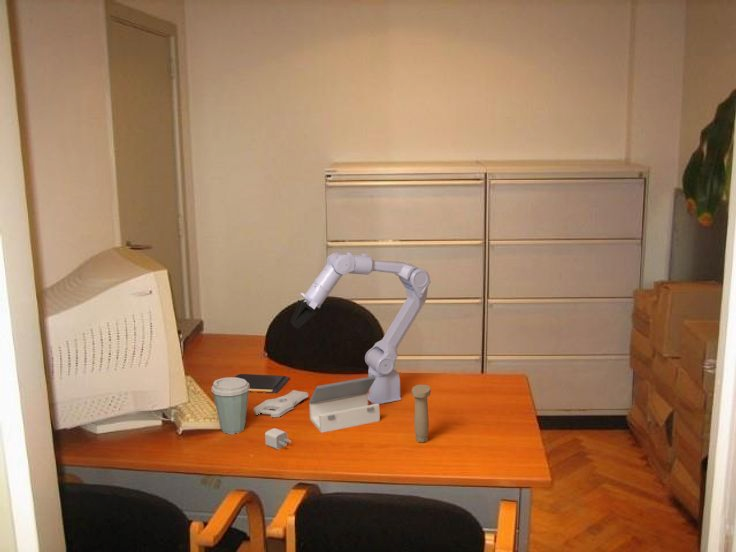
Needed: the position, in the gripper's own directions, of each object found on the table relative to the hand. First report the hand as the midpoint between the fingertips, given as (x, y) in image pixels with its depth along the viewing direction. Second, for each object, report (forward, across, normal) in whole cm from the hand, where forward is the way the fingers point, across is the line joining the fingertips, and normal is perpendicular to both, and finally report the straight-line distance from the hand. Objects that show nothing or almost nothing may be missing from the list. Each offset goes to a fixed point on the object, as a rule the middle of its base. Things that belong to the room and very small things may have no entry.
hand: (293, 325), depth 209 cm
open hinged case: (+14, +3, +28) cm, 32 cm away
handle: (+5, +21, +44) cm, 49 cm away
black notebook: (+25, -34, +6) cm, 43 cm away
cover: (+7, +4, +23) cm, 24 cm away
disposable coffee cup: (+34, +1, +4) cm, 35 cm away
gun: (+23, -12, +14) cm, 30 cm away
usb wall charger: (+28, +15, +14) cm, 35 cm away
